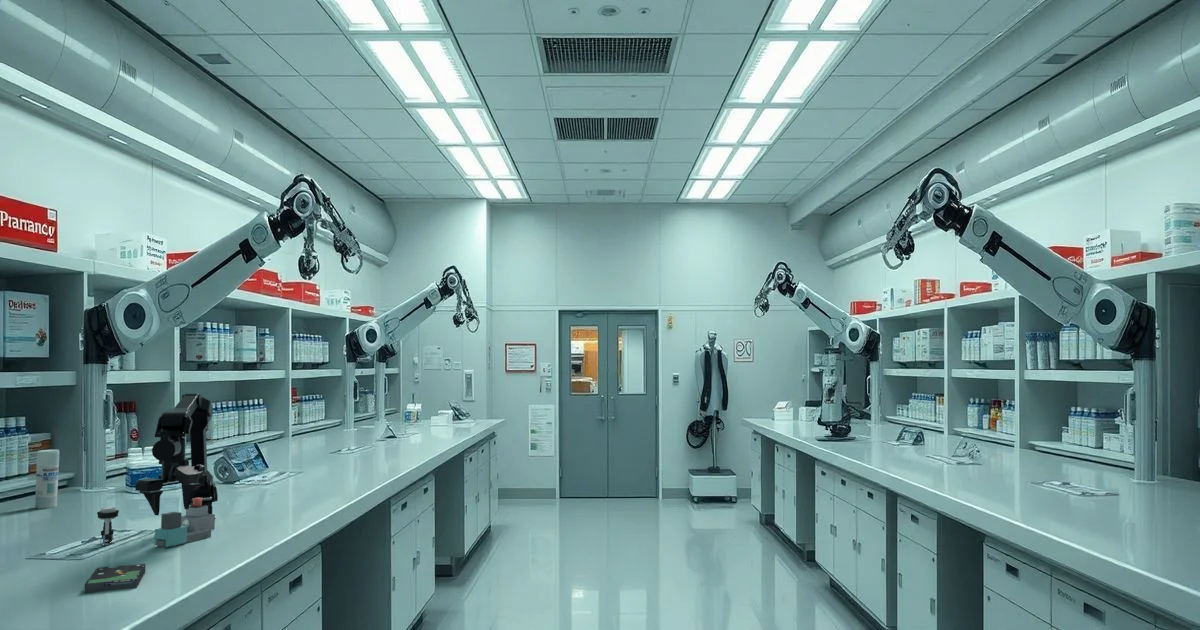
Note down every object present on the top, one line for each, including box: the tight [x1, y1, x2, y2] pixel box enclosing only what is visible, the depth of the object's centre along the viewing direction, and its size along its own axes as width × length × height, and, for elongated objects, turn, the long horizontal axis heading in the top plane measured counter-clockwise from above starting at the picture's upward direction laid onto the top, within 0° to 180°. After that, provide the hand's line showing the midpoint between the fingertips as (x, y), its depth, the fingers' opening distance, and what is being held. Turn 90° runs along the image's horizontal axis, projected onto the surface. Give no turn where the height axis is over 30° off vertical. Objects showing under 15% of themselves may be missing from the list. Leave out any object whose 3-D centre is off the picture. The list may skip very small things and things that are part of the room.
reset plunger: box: [193, 497, 202, 507], centre depth 233 cm, size 2×2×2 cm
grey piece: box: [181, 505, 216, 533], centre depth 233 cm, size 7×7×7 cm
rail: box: [156, 529, 212, 549], centre depth 218 cm, size 15×3×2 cm, turn 157°
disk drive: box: [83, 563, 147, 594], centre depth 178 cm, size 10×3×15 cm
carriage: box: [153, 511, 187, 548], centre depth 214 cm, size 6×5×8 cm
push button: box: [96, 506, 120, 546], centre depth 215 cm, size 7×5×10 cm
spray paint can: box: [34, 449, 61, 510], centre depth 271 cm, size 6×6×20 cm
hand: (171, 512), depth 214 cm, fingers open, 9 cm apart
